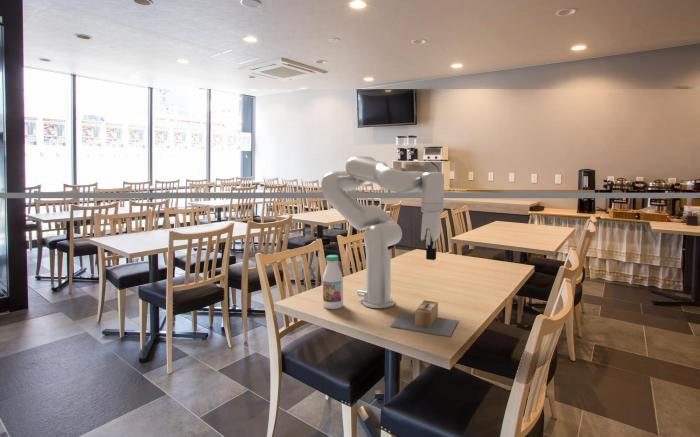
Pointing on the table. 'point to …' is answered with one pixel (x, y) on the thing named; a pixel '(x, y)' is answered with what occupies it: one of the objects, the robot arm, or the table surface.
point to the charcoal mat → (437, 328)
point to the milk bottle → (332, 284)
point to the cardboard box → (426, 313)
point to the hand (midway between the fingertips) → (431, 259)
